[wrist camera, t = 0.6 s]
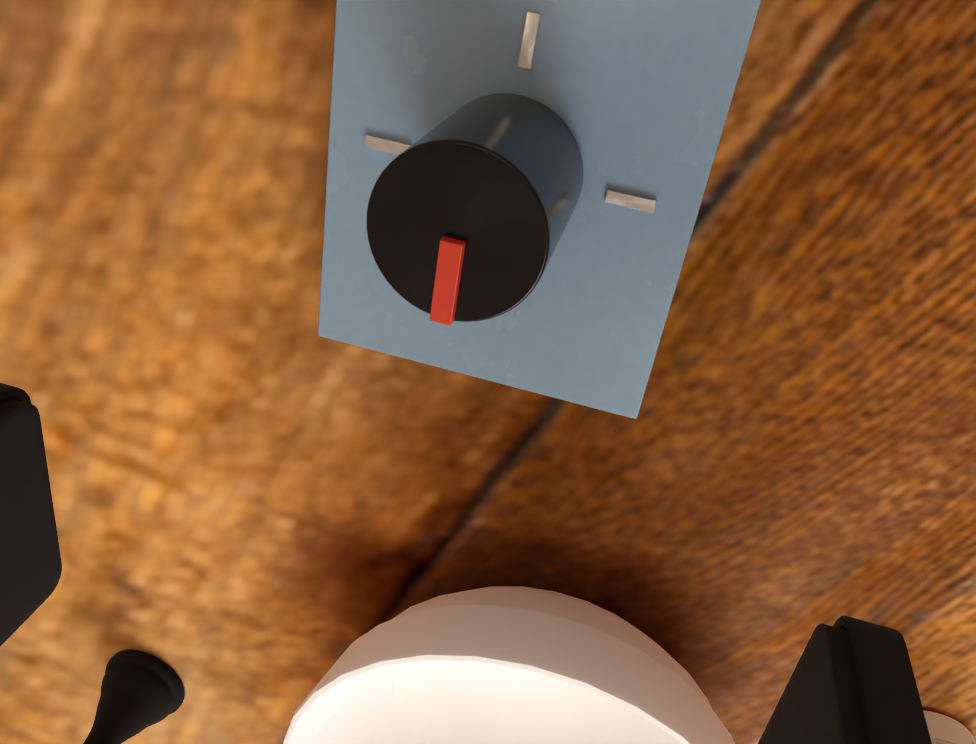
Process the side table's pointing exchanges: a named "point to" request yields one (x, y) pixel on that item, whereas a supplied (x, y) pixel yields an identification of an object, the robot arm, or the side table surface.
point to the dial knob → (476, 208)
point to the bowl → (506, 679)
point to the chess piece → (134, 697)
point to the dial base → (606, 173)
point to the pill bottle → (947, 730)
